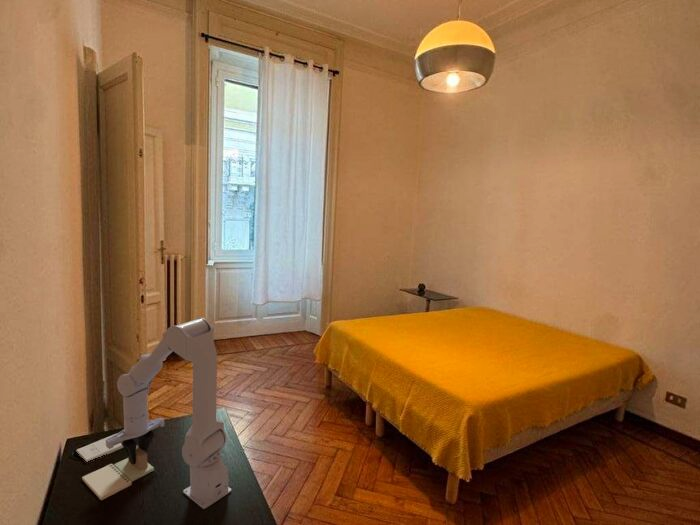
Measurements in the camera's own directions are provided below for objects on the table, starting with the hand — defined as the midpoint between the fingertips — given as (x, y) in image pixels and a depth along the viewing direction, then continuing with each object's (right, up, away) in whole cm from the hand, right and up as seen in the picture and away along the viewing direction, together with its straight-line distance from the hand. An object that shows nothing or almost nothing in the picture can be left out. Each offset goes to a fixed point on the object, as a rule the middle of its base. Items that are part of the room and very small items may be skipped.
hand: (137, 460), depth 104 cm
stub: (-1, -2, -1) cm, 2 cm away
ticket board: (-5, -3, -6) cm, 8 cm away
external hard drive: (-15, -2, +9) cm, 17 cm away
